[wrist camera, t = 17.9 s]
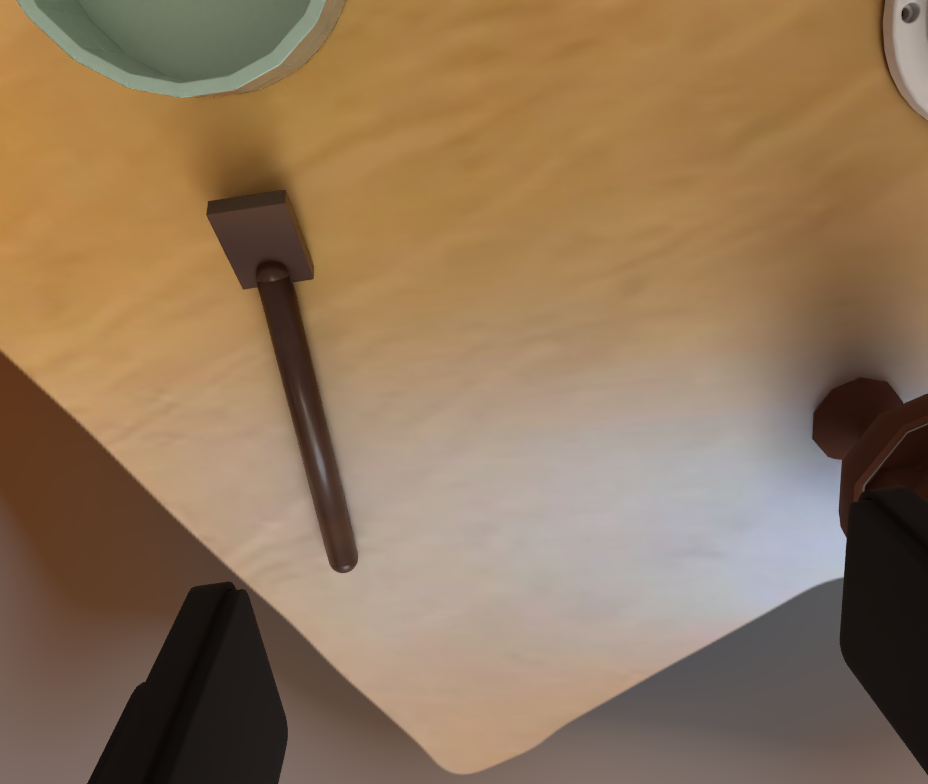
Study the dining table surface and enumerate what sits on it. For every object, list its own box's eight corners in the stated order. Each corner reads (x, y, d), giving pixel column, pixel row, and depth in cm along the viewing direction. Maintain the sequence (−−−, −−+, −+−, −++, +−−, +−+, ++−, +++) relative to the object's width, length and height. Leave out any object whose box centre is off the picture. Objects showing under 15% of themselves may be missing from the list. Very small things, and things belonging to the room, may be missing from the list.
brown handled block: (207, 200, 35) (181, 393, 29) (286, 189, 35) (277, 379, 29) (317, 428, 52) (316, 581, 46) (370, 420, 52) (377, 572, 46)
